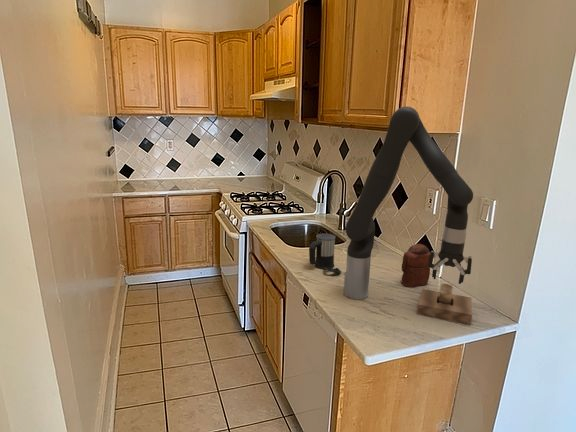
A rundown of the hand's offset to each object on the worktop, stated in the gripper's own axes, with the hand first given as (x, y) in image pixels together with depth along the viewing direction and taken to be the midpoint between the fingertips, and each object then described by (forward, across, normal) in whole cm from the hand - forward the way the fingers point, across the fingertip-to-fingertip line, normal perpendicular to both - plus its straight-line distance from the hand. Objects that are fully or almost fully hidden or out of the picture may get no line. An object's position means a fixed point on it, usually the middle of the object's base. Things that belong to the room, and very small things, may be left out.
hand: (447, 280), depth 142 cm
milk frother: (+13, -51, +19) cm, 56 cm away
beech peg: (+12, 0, 0) cm, 12 cm away
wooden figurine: (+12, -12, +19) cm, 26 cm away
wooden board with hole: (+12, 0, 0) cm, 12 cm away
